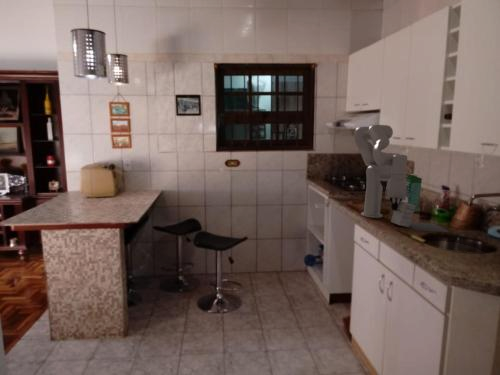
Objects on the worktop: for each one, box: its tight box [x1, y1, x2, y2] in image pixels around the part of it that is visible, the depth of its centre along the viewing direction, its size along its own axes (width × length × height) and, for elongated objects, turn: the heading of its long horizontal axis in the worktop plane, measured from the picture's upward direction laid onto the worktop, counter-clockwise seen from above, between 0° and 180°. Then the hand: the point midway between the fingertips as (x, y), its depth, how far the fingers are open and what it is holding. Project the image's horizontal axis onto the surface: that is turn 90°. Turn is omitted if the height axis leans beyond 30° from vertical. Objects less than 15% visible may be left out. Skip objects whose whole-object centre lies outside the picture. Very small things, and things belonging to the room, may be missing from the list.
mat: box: [409, 221, 450, 234], centre depth 202 cm, size 18×18×1 cm
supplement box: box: [390, 201, 415, 228], centre depth 202 cm, size 7×7×13 cm
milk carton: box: [401, 173, 423, 212], centre depth 246 cm, size 9×9×25 cm
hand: (394, 209), depth 201 cm, fingers closed
